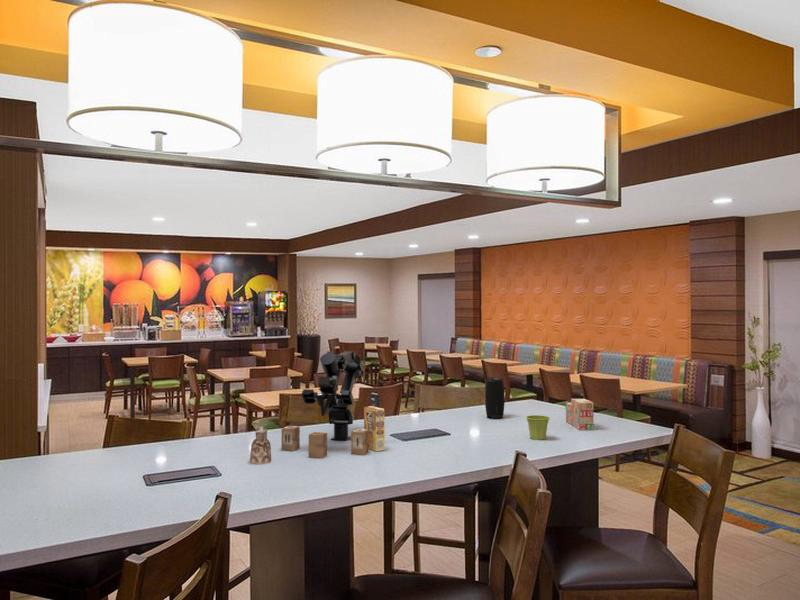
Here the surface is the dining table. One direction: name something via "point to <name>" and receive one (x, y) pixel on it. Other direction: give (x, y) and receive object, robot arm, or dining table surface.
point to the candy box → (375, 427)
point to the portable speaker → (494, 397)
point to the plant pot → (537, 426)
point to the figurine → (260, 447)
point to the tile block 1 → (290, 438)
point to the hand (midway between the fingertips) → (322, 415)
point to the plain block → (317, 445)
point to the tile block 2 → (359, 442)
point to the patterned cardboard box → (580, 414)
